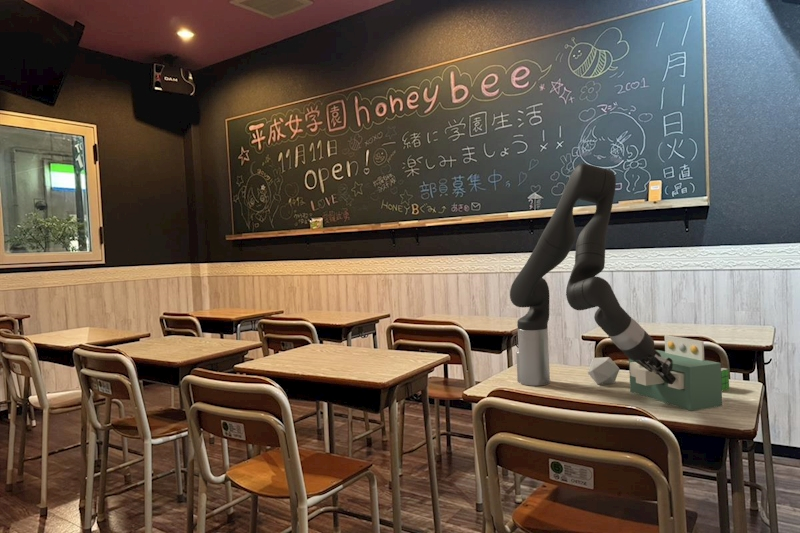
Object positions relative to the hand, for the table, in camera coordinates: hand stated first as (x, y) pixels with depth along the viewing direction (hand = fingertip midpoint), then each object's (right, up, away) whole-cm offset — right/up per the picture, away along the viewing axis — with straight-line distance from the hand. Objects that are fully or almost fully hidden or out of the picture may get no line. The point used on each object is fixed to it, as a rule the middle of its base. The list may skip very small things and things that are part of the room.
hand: (671, 381), depth 143 cm
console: (+5, -6, +9) cm, 12 cm away
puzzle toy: (+20, -6, +17) cm, 27 cm away
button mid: (-3, -2, +7) cm, 7 cm away
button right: (+3, -2, +1) cm, 4 cm away
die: (-7, -7, +29) cm, 31 cm away
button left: (-1, -2, +14) cm, 15 cm away
